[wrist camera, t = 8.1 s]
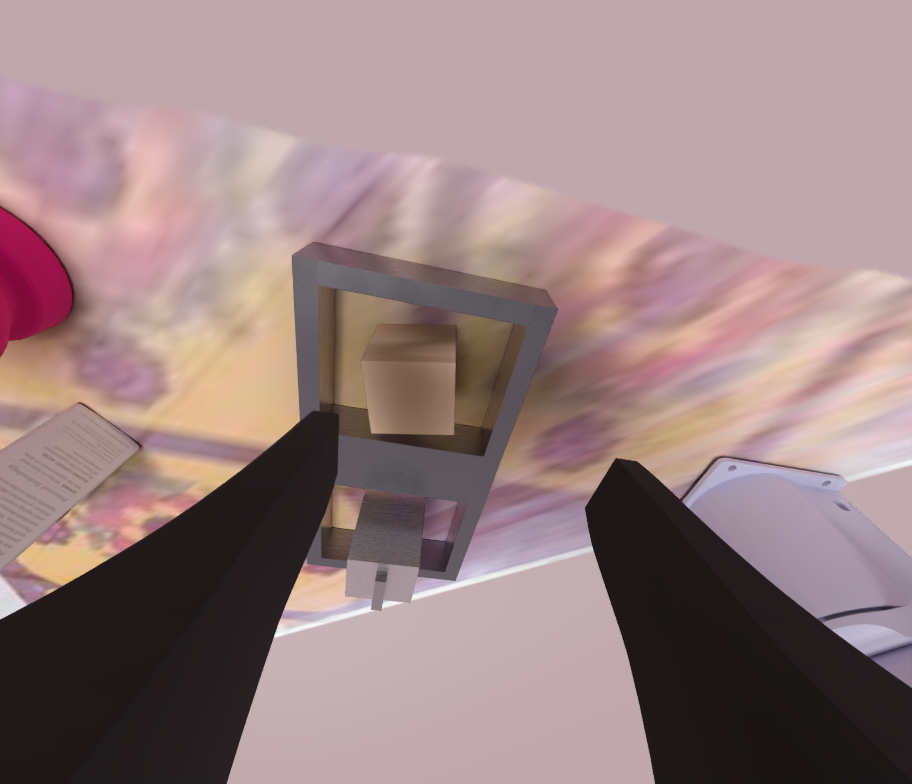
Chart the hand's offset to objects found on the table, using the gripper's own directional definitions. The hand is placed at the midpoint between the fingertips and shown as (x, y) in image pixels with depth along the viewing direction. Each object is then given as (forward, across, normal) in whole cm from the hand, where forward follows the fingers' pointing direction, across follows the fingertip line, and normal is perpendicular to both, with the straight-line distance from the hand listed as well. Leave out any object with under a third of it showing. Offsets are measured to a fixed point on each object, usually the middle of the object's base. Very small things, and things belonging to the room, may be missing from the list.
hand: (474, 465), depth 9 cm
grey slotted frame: (+10, +2, +9) cm, 14 cm away
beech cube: (+10, +2, +3) cm, 11 cm away
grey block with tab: (+10, +2, +15) cm, 18 cm away
